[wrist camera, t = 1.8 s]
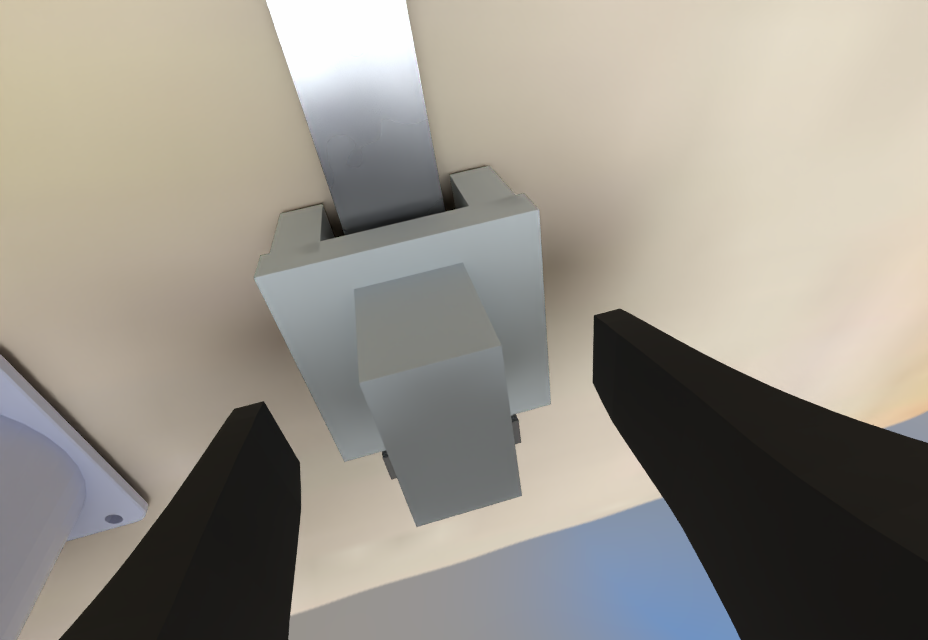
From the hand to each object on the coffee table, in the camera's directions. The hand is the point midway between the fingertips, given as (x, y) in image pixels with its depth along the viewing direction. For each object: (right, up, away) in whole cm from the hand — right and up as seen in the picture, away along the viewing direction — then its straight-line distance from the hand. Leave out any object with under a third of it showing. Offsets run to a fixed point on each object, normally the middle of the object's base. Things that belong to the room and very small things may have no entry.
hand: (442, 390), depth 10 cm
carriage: (-1, +3, +4) cm, 5 cm away
